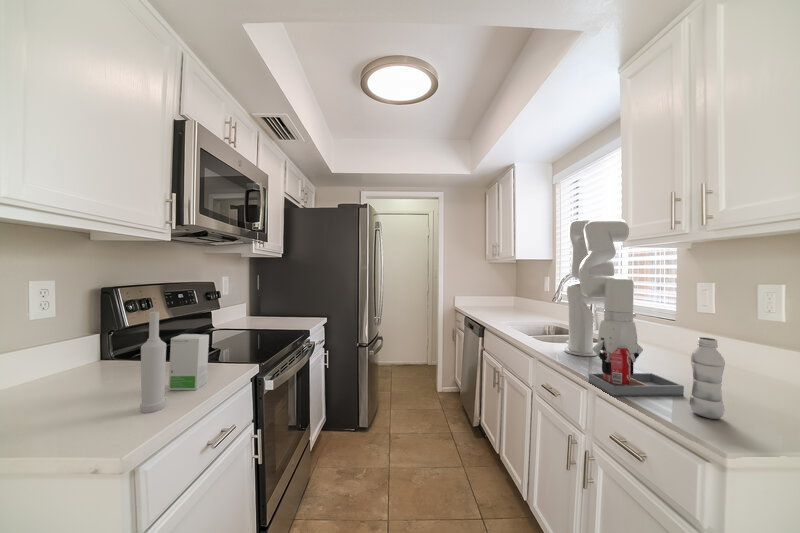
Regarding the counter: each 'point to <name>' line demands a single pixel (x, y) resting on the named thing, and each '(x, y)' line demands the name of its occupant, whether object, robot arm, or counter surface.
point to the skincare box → (188, 362)
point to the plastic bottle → (707, 379)
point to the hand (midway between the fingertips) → (617, 373)
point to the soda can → (619, 367)
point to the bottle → (153, 368)
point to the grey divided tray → (639, 386)
